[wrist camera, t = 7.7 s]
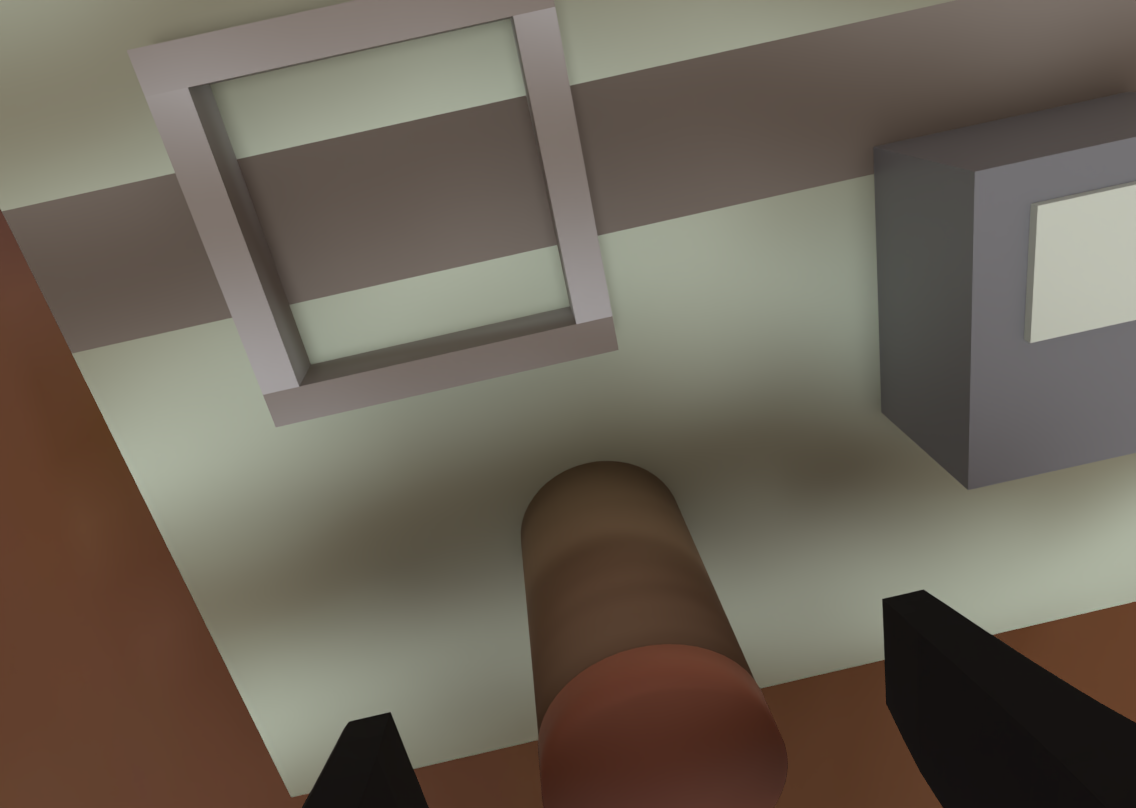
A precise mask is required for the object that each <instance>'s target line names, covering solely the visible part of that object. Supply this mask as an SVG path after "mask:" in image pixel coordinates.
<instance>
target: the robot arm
mask: <svg viewBox="0 0 1136 808" xmlns="http://www.w3.org/2000/svg"><path fill="white" fill-rule="evenodd" d="M882 607H883V632H884V658H885V683H886V704H887V706H888V708H889V710H890V712H891V714H892V716H893V719H894V721H895V723H896V725H897V727H898V729H899V731H900V733H901V735H902V737H903V739H904V741H905V743H906V745H907V747H908V749H909V751H910V753H911V755H912V757H913V759H914V761H915V763H916V764H917V766H918V768H919V770H920V772H921V774H922V775H923V777H924V778H925V780H926V782H927V783H928V785H929V786H930V788H931V790H932V791H933V793H934V794H935V796H936V797H937V799H938V800H939V802H940V803H941V805H942V807H943V808H1136V723H1135V722H1133V721H1131V720H1130V719H1128V718H1126V717H1124V716H1122V715H1121V714H1119V713H1117V712H1115V711H1114V710H1112V709H1110V708H1108V707H1106V706H1105V705H1103V704H1101V703H1099V702H1098V701H1096V700H1094V699H1093V698H1091V697H1089V696H1088V695H1086V694H1084V693H1083V692H1081V691H1079V690H1078V689H1076V688H1074V687H1073V686H1071V685H1070V684H1068V683H1066V682H1065V681H1063V680H1062V679H1060V678H1058V677H1057V676H1055V675H1054V674H1052V673H1050V672H1049V671H1047V670H1046V669H1044V668H1042V667H1041V666H1039V665H1038V664H1036V663H1034V662H1033V661H1031V660H1030V659H1028V658H1027V657H1025V656H1023V655H1022V654H1020V653H1019V652H1017V651H1016V650H1014V649H1013V648H1011V647H1010V646H1008V645H1007V644H1005V643H1004V642H1002V641H1000V640H999V639H997V638H996V637H994V636H993V635H991V634H990V633H988V632H987V631H985V630H984V629H982V628H981V627H979V626H978V625H976V624H975V623H973V622H972V621H970V620H969V619H967V618H966V617H964V616H963V615H961V614H960V613H958V612H957V611H955V610H954V609H952V608H951V607H949V606H948V605H946V604H945V603H943V602H942V601H940V600H939V599H937V598H936V597H934V596H933V595H931V594H930V593H928V592H927V591H925V590H924V589H923V590H919V591H914V592H910V593H906V594H901V595H897V596H893V597H888V598H884V599H882ZM302 808H429V807H428V805H427V802H426V800H425V797H424V795H423V792H422V790H421V787H420V785H419V782H418V780H417V777H416V775H415V772H414V770H413V767H412V765H411V762H410V760H409V757H408V755H407V752H406V750H405V747H404V745H403V742H402V739H401V737H400V734H399V732H398V729H397V727H396V724H395V722H394V719H393V717H392V714H391V712H388V713H384V714H380V715H375V716H371V717H366V718H362V719H358V720H353V721H349V722H348V724H347V725H346V726H345V728H344V729H343V731H342V733H341V735H340V737H339V739H338V741H337V743H336V745H335V746H334V748H333V750H332V752H331V754H330V756H329V758H328V760H327V762H326V764H325V766H324V768H323V769H322V771H321V773H320V775H319V777H318V779H317V781H316V783H315V785H314V786H313V788H312V790H311V792H310V794H309V796H308V798H307V799H306V801H305V803H304V805H303V807H302Z"/></svg>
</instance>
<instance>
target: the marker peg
mask: <svg viewBox="0 0 1136 808" xmlns="http://www.w3.org/2000/svg"><path fill="white" fill-rule="evenodd" d="M521 548H522V559H523V570H524V582H525V593H526V604H527V615H528V626H529V638H530V649H531V660H532V671H533V683H534V694H535V705H536V716H537V727H538V755H539V767H540V778H541V790H542V801H543V806H544V808H773V807H774V806H775V805H776V803H777V801H778V799H779V797H780V795H781V793H782V791H783V788H784V784H785V781H786V776H787V769H788V761H787V752H786V748H785V744H784V742H783V739H782V737H781V734H780V732H779V730H778V728H777V725H776V723H775V721H774V719H773V716H772V714H771V712H770V710H769V707H768V705H767V703H766V701H765V698H764V696H763V694H762V691H761V689H760V688H759V686H758V685H757V683H756V681H755V679H754V677H753V675H752V672H751V670H750V668H749V666H748V663H747V661H746V659H745V657H744V654H743V652H742V650H741V647H740V645H739V643H738V641H737V638H736V636H735V634H734V632H733V629H732V627H731V625H730V623H729V620H728V618H727V616H726V613H725V611H724V609H723V607H722V604H721V602H720V600H719V598H718V595H717V593H716V591H715V588H714V586H713V584H712V582H711V579H710V577H709V575H708V573H707V570H706V568H705V566H704V564H703V561H702V559H701V557H700V554H699V552H698V550H697V548H696V545H695V543H694V541H693V539H692V536H691V534H690V532H689V529H688V527H687V525H686V523H685V520H684V518H683V516H682V514H681V511H680V509H679V507H678V505H677V502H676V500H675V498H674V496H673V494H672V493H671V491H670V490H669V488H668V487H667V486H666V485H665V484H664V483H663V482H662V481H661V480H660V479H659V478H658V477H657V476H655V475H654V474H652V473H651V472H649V471H647V470H645V469H643V468H641V467H639V466H635V465H632V464H629V463H624V462H619V461H596V462H590V463H585V464H582V465H578V466H575V467H573V468H570V469H568V470H566V471H564V472H562V473H560V474H558V475H557V476H555V477H554V478H553V479H551V480H550V481H548V482H547V483H546V484H545V485H544V486H543V487H542V488H541V489H540V490H539V491H538V492H537V494H536V495H535V496H534V497H533V499H532V500H531V502H530V504H529V505H528V507H527V510H526V512H525V514H524V517H523V521H522V526H521Z"/></svg>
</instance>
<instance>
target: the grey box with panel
mask: <svg viewBox="0 0 1136 808" xmlns="http://www.w3.org/2000/svg"><path fill="white" fill-rule="evenodd" d="M873 154H874V187H875V220H876V253H877V285H878V318H879V351H880V384H881V413H883V414H884V415H885V416H886V417H887V418H888V419H889V420H890V421H891V422H893V423H894V424H895V425H896V426H897V427H898V428H899V429H900V430H901V431H903V432H904V433H905V434H906V435H907V436H908V437H909V438H910V439H912V440H913V441H914V442H915V443H916V444H917V445H918V446H919V447H920V448H922V449H923V450H924V451H925V452H926V453H927V454H928V455H929V456H930V457H932V458H933V459H934V460H935V461H936V462H937V463H938V464H939V465H941V466H942V467H943V468H944V469H945V470H946V471H947V472H948V473H949V474H951V475H952V476H953V477H954V478H955V479H956V480H957V481H958V482H959V483H961V484H962V485H963V486H964V487H965V488H966V489H967V490H971V489H976V488H980V487H985V486H989V485H994V484H998V483H1003V482H1007V481H1012V480H1016V479H1021V478H1025V477H1030V476H1034V475H1039V474H1043V473H1048V472H1052V471H1056V470H1061V469H1065V468H1070V467H1074V466H1079V465H1083V464H1088V463H1092V462H1097V461H1101V460H1106V459H1110V458H1115V457H1119V456H1124V455H1128V454H1133V453H1136V92H1125V93H1120V94H1116V95H1111V96H1107V97H1102V98H1097V99H1093V100H1088V101H1083V102H1079V103H1074V104H1069V105H1065V106H1060V107H1056V108H1051V109H1046V110H1042V111H1037V112H1032V113H1028V114H1023V115H1018V116H1014V117H1009V118H1005V119H1000V120H995V121H991V122H986V123H981V124H977V125H972V126H967V127H963V128H958V129H954V130H949V131H944V132H940V133H935V134H930V135H926V136H921V137H916V138H912V139H907V140H903V141H898V142H893V143H889V144H884V145H879V146H875V147H873Z"/></svg>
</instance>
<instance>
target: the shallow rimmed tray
mask: <svg viewBox="0 0 1136 808" xmlns="http://www.w3.org/2000/svg"><path fill="white" fill-rule="evenodd" d="M1125 92H1136V0H0V209H1V211H2V213H3V215H4V217H5V219H6V221H7V223H8V225H9V227H10V229H11V231H12V233H13V235H14V237H15V239H16V241H17V243H18V245H19V247H20V249H21V251H22V253H23V255H24V257H25V259H26V261H27V263H28V265H29V267H30V270H31V272H32V274H33V276H34V278H35V280H36V282H37V284H38V286H39V288H40V290H41V292H42V294H43V296H44V298H45V300H46V302H47V304H48V306H49V308H50V310H51V312H52V314H53V316H54V318H55V320H56V322H57V324H58V326H59V328H60V330H61V332H62V334H63V336H64V338H65V340H66V342H67V344H68V346H69V348H70V350H71V352H72V355H73V357H74V359H75V361H76V363H77V365H78V367H79V369H80V371H81V373H82V375H83V377H84V379H85V381H86V383H87V385H88V387H89V389H90V391H91V393H92V395H93V397H94V399H95V401H96V403H97V405H98V407H99V409H100V411H101V413H102V415H103V417H104V419H105V421H106V423H107V425H108V427H109V429H110V431H111V433H112V435H113V437H114V440H115V442H116V444H117V446H118V448H119V450H120V452H121V454H122V456H123V458H124V460H125V462H126V464H127V466H128V468H129V470H130V472H131V474H132V476H133V478H134V480H135V482H136V484H137V486H138V488H139V490H140V492H141V494H142V496H143V498H144V500H145V502H146V504H147V506H148V508H149V510H150V512H151V514H152V516H153V518H154V520H155V522H156V525H157V527H158V529H159V531H160V533H161V535H162V537H163V539H164V541H165V543H166V545H167V547H168V549H169V551H170V553H171V555H172V557H173V559H174V561H175V563H176V565H177V567H178V569H179V571H180V573H181V575H182V577H183V579H184V581H185V583H186V585H187V587H188V589H189V591H190V593H191V595H192V597H193V599H194V601H195V603H196V605H197V608H198V610H199V612H200V614H201V616H202V618H203V620H204V622H205V624H206V626H207V628H208V630H209V632H210V634H211V636H212V638H213V640H214V642H215V644H216V646H217V648H218V650H219V652H220V654H221V656H222V658H223V660H224V662H225V664H226V666H227V668H228V670H229V672H230V674H231V676H232V678H233V680H234V682H235V684H236V686H237V688H238V690H239V693H240V695H241V697H242V699H243V701H244V703H245V705H246V707H247V709H248V711H249V713H250V715H251V717H252V719H253V721H254V723H255V725H256V727H257V729H258V731H259V733H260V735H261V737H262V739H263V741H264V743H265V745H266V747H267V749H268V751H269V753H270V755H271V757H272V759H273V761H274V763H275V765H276V767H277V769H278V771H279V773H280V775H281V778H282V780H283V782H284V784H285V786H286V788H287V790H288V792H289V794H290V796H291V797H295V796H299V795H303V794H308V793H310V792H311V790H312V788H313V786H314V785H315V783H316V781H317V779H318V777H319V775H320V773H321V771H322V769H323V768H324V766H325V764H326V762H327V760H328V758H329V756H330V754H331V752H332V750H333V748H334V746H335V745H336V743H337V741H338V739H339V737H340V735H341V733H342V731H343V729H344V728H345V726H346V725H347V724H348V722H349V721H353V720H358V719H362V718H366V717H371V716H375V715H380V714H384V713H388V712H391V714H392V717H393V719H394V722H395V724H396V727H397V729H398V732H399V734H400V737H401V739H402V742H403V745H404V747H405V750H406V752H407V755H408V757H409V760H410V762H411V765H412V767H413V769H415V768H420V767H424V766H428V765H433V764H437V763H441V762H446V761H450V760H454V759H458V758H463V757H467V756H471V755H476V754H480V753H484V752H489V751H493V750H497V749H502V748H506V747H510V746H515V745H519V744H523V743H527V742H532V741H536V740H538V727H537V716H536V705H535V694H534V683H533V671H532V660H531V649H530V638H529V626H528V615H527V604H526V593H525V582H524V570H523V559H522V548H521V526H522V521H523V517H524V514H525V512H526V510H527V507H528V505H529V504H530V502H531V500H532V499H533V497H534V496H535V495H536V494H537V492H538V491H539V490H540V489H541V488H542V487H543V486H544V485H545V484H546V483H547V482H548V481H550V480H551V479H553V478H554V477H555V476H557V475H558V474H560V473H562V472H564V471H566V470H568V469H570V468H573V467H575V466H578V465H582V464H585V463H590V462H596V461H619V462H624V463H629V464H632V465H635V466H639V467H641V468H643V469H645V470H647V471H649V472H651V473H652V474H654V475H655V476H657V477H658V478H659V479H660V480H661V481H662V482H663V483H664V484H665V485H666V486H667V487H668V488H669V490H670V491H671V493H672V494H673V496H674V498H675V500H676V502H677V505H678V507H679V509H680V511H681V514H682V516H683V518H684V520H685V523H686V525H687V527H688V529H689V532H690V534H691V536H692V539H693V541H694V543H695V545H696V548H697V550H698V552H699V554H700V557H701V559H702V561H703V564H704V566H705V568H706V570H707V573H708V575H709V577H710V579H711V582H712V584H713V586H714V588H715V591H716V593H717V595H718V598H719V600H720V602H721V604H722V607H723V609H724V611H725V613H726V616H727V618H728V620H729V623H730V625H731V627H732V629H733V632H734V634H735V636H736V638H737V641H738V643H739V645H740V647H741V650H742V652H743V654H744V657H745V659H746V661H747V663H748V666H749V668H750V670H751V672H752V675H753V677H754V679H755V681H756V683H757V685H758V686H759V688H764V687H769V686H773V685H777V684H782V683H786V682H790V681H795V680H799V679H803V678H808V677H812V676H816V675H820V674H825V673H829V672H833V671H838V670H842V669H846V668H851V667H855V666H859V665H864V664H868V663H872V662H877V661H881V660H885V658H884V632H883V607H882V599H884V598H888V597H893V596H897V595H901V594H906V593H910V592H914V591H919V590H923V589H924V590H925V591H927V592H928V593H930V594H931V595H933V596H934V597H936V598H937V599H939V600H940V601H942V602H943V603H945V604H946V605H948V606H949V607H951V608H952V609H954V610H955V611H957V612H958V613H960V614H961V615H963V616H964V617H966V618H967V619H969V620H970V621H972V622H973V623H975V624H976V625H978V626H979V627H981V628H982V629H984V630H985V631H987V632H988V633H990V634H991V635H993V634H997V633H1001V632H1006V631H1010V630H1014V629H1019V628H1023V627H1027V626H1032V625H1036V624H1040V623H1045V622H1049V621H1053V620H1057V619H1062V618H1066V617H1070V616H1075V615H1079V614H1083V613H1088V612H1092V611H1096V610H1101V609H1105V608H1109V607H1114V606H1118V605H1122V604H1126V603H1131V602H1135V601H1136V453H1133V454H1128V455H1124V456H1119V457H1115V458H1110V459H1106V460H1101V461H1097V462H1092V463H1088V464H1083V465H1079V466H1074V467H1070V468H1065V469H1061V470H1056V471H1052V472H1048V473H1043V474H1039V475H1034V476H1030V477H1025V478H1021V479H1016V480H1012V481H1007V482H1003V483H998V484H994V485H989V486H985V487H980V488H976V489H971V490H967V489H966V488H965V487H964V486H963V485H962V484H961V483H959V482H958V481H957V480H956V479H955V478H954V477H953V476H952V475H951V474H949V473H948V472H947V471H946V470H945V469H944V468H943V467H942V466H941V465H939V464H938V463H937V462H936V461H935V460H934V459H933V458H932V457H930V456H929V455H928V454H927V453H926V452H925V451H924V450H923V449H922V448H920V447H919V446H918V445H917V444H916V443H915V442H914V441H913V440H912V439H910V438H909V437H908V436H907V435H906V434H905V433H904V432H903V431H901V430H900V429H899V428H898V427H897V426H896V425H895V424H894V423H893V422H891V421H890V420H889V419H888V418H887V417H886V416H885V415H884V414H883V413H881V384H880V351H879V318H878V285H877V253H876V220H875V187H874V154H873V147H875V146H879V145H884V144H889V143H893V142H898V141H903V140H907V139H912V138H916V137H921V136H926V135H930V134H935V133H940V132H944V131H949V130H954V129H958V128H963V127H967V126H972V125H977V124H981V123H986V122H991V121H995V120H1000V119H1005V118H1009V117H1014V116H1018V115H1023V114H1028V113H1032V112H1037V111H1042V110H1046V109H1051V108H1056V107H1060V106H1065V105H1069V104H1074V103H1079V102H1083V101H1088V100H1093V99H1097V98H1102V97H1107V96H1111V95H1116V94H1120V93H1125Z"/></svg>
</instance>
